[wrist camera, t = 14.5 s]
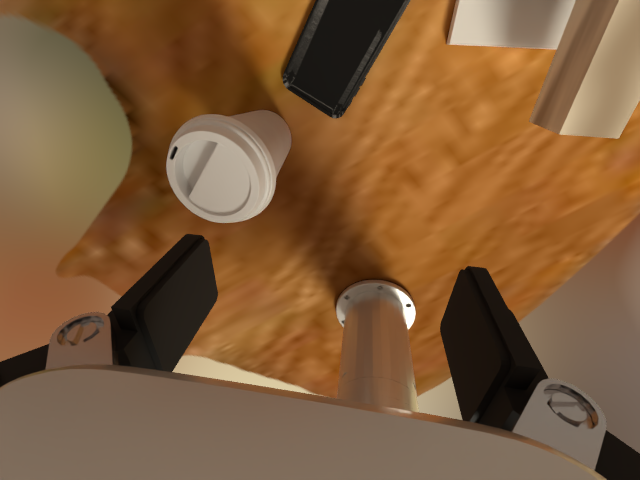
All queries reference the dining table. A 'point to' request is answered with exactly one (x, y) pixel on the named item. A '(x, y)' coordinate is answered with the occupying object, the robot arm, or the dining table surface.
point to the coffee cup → (228, 163)
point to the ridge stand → (509, 23)
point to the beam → (593, 71)
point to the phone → (339, 50)
